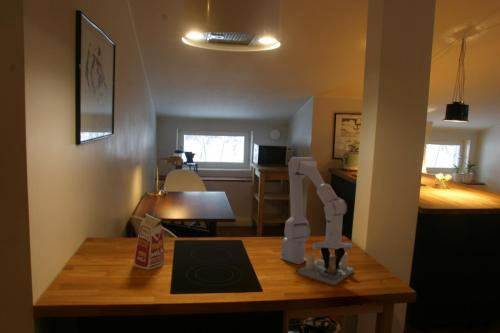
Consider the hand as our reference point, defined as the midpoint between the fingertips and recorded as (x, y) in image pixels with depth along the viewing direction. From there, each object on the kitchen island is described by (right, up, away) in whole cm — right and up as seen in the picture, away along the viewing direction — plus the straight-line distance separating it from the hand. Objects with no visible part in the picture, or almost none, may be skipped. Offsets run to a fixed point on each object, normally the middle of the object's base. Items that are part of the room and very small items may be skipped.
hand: (331, 267), depth 137 cm
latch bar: (0, -1, +5) cm, 5 cm away
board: (0, -4, +8) cm, 9 cm away
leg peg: (0, -2, 0) cm, 2 cm away
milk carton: (-69, -1, +8) cm, 70 cm away
